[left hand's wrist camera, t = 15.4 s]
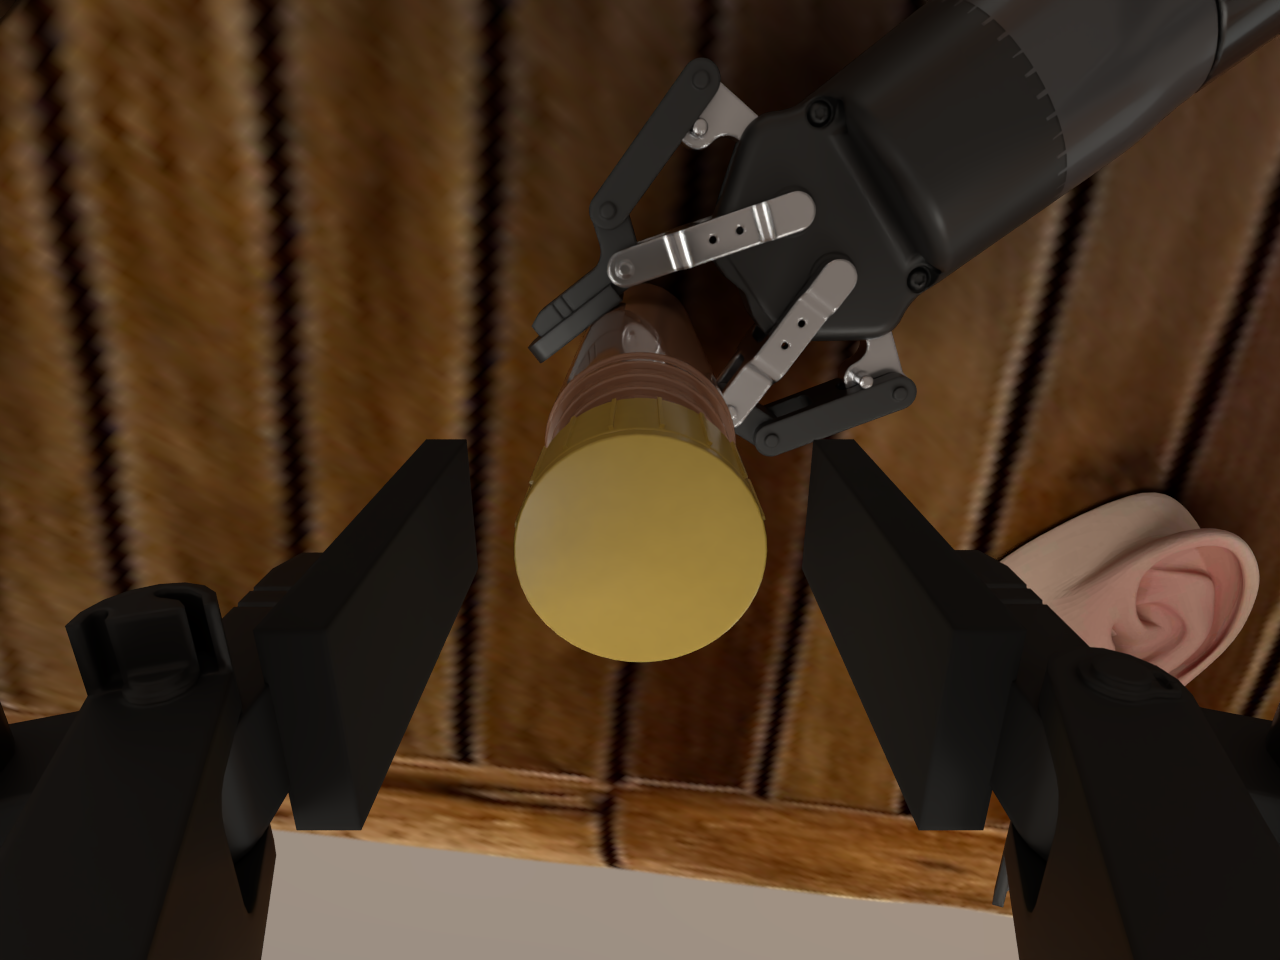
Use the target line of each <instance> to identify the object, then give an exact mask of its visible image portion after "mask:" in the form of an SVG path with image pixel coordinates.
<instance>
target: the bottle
mask: <svg viewBox="0 0 1280 960" xmlns="http://www.w3.org/2000/svg"><path fill="white" fill-rule="evenodd" d="M623 293H624V296H623V301H622V302H621V303H619V304H618V305H617V306H615V307H614V308H613V309H611V310H610V311H609V312H608V313H606V314H605V315H603V316H602V317H600V318H599V319H598V320H597V321H596V322H595V323H593V324H592V325H591V326H589V327H588V328H587V329H586V331H585V334H584V336H583V338H582V341H581V343H580V345H579V348H578V350H577V352H576V355H575V357H574V359H573V361H572V364H571V366H570V368H569V371H568V373H567V375H566V378H565V380H564V382H563V385H562V387H561V389H560V392H559V394H558V396H557V399H556V401H555V403H554V405H553V408H552V410H551V412H550V415H549V419H548V422H547V426H546V434H545V447H546V448H547V447H548V445H549V444H550V442H551V441H552V440H553V439H554V437H555V436H556V435H557V434H558V433H559V432H560V431H561V430H562V429H563V428H564V427H565V426H566V425H567V424H568V423H569V422H570V420H571V418H572V417H573V416H575V417H578V416H579V415H581V414H582V413H584V412H586V411H588V410H590V409H592V408H594V407H597V406H599V405H602V404H605V403H608V402H612V399H614V398H616V399H617V400H621V399H629V398H652V399H657V397H662V400H665V401H669V402H672V403H675V404H679V405H682V406H684V407H686V408H688V409H691V410H693V411H695V412H696V413H698V414H699V413H700V412H702V413H703V414H704V416H705V418H706V419H707V420H709V421H710V422H711V423H712V424H713V425H715V426H716V427H717V428H718V429H719V430H720V431H721V432H722V433H723V434H724V435H725V436H726V438H727V439H728V440H729V442H730V443H731V442H732V441H733V442H734V443H735V445H736V440H735V429H734V424H733V420H732V417H731V414H730V411H729V408H728V406H727V404H726V401H725V399H724V397H723V394H722V392H721V390H720V387H719V385H718V383H717V381H716V378H715V376H714V374H713V371H712V369H711V367H710V364H709V362H708V360H707V357H706V355H705V353H704V351H703V348H702V346H701V344H700V341H699V339H698V337H697V334H696V332H695V330H694V328H693V325H692V323H691V321H690V318H689V316H688V314H687V312H686V310H685V308H684V307H683V305H682V304H681V302H680V301H679V300H678V299H677V298H676V297H675V296H674V295H673V294H671V293H670V292H668V291H667V290H665V289H663V288H661V287H659V286H655V285H652V284H646V283H641V284H638V285H635V286H632V287H630V288H628V289H627V290H626V291H624V292H623Z"/></svg>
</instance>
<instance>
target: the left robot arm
mask: <svg viewBox="0 0 1280 960" xmlns="http://www.w3.org/2000/svg"><path fill="white" fill-rule="evenodd" d="M15 1H16V0H0V19H1V18H2V17H3V16H4V15H5V14H6V12H7V11H8V10H9V9H10V8H11V6H12V5H13V4H14V3H15ZM477 569H478V564H477V553H476V542H475V530H474V519H473V508H472V496H471V485H470V474H469V463H468V451H467V440H466V439H426V440H425V441H424V443H423V444H422V445H421V446H420V447H419V448H418V449H417V450H416V451H415V452H414V454H413V455H412V456H411V457H410V458H409V459H408V460H407V461H406V462H405V463H404V465H403V466H402V467H401V468H400V469H399V470H398V471H397V472H396V473H395V474H394V476H393V477H392V478H391V479H390V480H389V481H388V482H387V483H386V484H385V485H384V486H383V488H382V489H381V490H380V491H379V492H378V493H377V494H376V495H375V496H374V497H373V499H372V500H371V501H370V502H369V503H368V504H367V505H366V506H365V507H364V508H363V510H362V511H361V512H360V513H359V514H358V515H357V516H356V517H355V518H354V519H353V521H352V522H351V523H350V524H349V525H348V526H347V527H346V528H345V529H344V530H343V532H342V533H341V534H340V535H339V536H338V537H337V538H336V539H335V540H334V541H333V543H332V544H331V545H330V546H329V547H328V548H327V549H326V550H325V551H324V552H323V553H301V554H299V555H297V556H295V557H293V558H292V559H290V560H288V561H286V562H284V563H282V564H280V565H279V566H277V567H275V568H273V569H272V570H271V571H270V572H269V573H268V574H267V575H266V576H265V577H264V578H263V579H262V580H261V581H260V582H259V583H258V584H257V585H256V586H255V587H254V591H250V592H249V593H248V594H247V595H246V596H245V597H244V598H243V599H242V600H241V601H240V602H239V603H238V607H233V608H232V609H231V610H230V611H229V612H228V613H227V614H226V615H225V616H224V617H223V618H222V617H221V613H220V609H219V604H218V600H217V596H216V592H214V591H213V590H211V589H209V588H208V587H206V586H205V585H198V584H192V583H169V584H158V585H153V586H148V587H144V588H139V589H134V590H130V591H127V592H124V593H122V594H119V595H116V596H113V597H110V598H107V599H105V600H102V601H101V602H99V603H97V604H95V605H93V606H91V607H89V608H87V609H86V610H84V611H82V612H80V613H79V614H78V615H77V616H76V617H75V618H73V619H72V620H71V621H70V622H69V623H68V624H67V625H66V626H65V627H66V630H67V633H68V636H69V640H70V643H71V646H72V649H73V652H74V655H75V658H76V661H77V664H78V667H79V670H80V673H81V676H82V680H83V683H84V686H85V689H86V692H87V695H88V696H87V698H86V700H85V702H84V703H83V705H82V707H81V709H80V710H79V711H77V712H72V713H66V714H61V715H56V716H50V717H45V718H40V719H34V720H29V721H24V722H18V723H13V724H8V721H7V719H6V716H5V713H4V711H3V708H2V705H1V703H0V960H261V956H262V949H263V942H264V935H265V928H266V921H267V914H268V907H269V901H270V894H271V887H272V880H273V873H274V866H275V859H276V851H275V844H274V838H273V834H272V830H271V825H270V822H271V821H272V819H273V817H274V816H275V814H276V812H277V811H278V809H279V807H280V806H281V804H282V802H283V800H284V799H285V797H286V795H287V794H288V793H289V797H290V802H291V807H292V811H293V816H294V820H295V825H296V829H297V830H362V827H363V825H364V823H365V821H366V818H367V816H368V814H369V812H370V809H371V807H372V805H373V803H374V800H375V798H376V796H377V794H378V791H379V789H380V787H381V785H382V782H383V780H384V778H385V776H386V773H387V771H388V769H389V767H390V764H391V762H392V760H393V758H394V755H395V753H396V751H397V749H398V747H399V744H400V742H401V740H402V738H403V735H404V733H405V731H406V729H407V726H408V724H409V722H410V720H411V717H412V715H413V713H414V711H415V708H416V706H417V704H418V702H419V699H420V697H421V695H422V693H423V690H424V688H425V686H426V684H427V681H428V679H429V677H430V675H431V672H432V670H433V668H434V666H435V664H436V661H437V659H438V657H439V655H440V652H441V650H442V648H443V646H444V643H445V641H446V639H447V637H448V634H449V632H450V630H451V628H452V625H453V623H454V621H455V619H456V616H457V614H458V612H459V610H460V607H461V605H462V603H463V601H464V598H465V596H466V594H467V592H468V589H469V587H470V585H471V583H472V581H473V578H474V576H475V574H476V572H477ZM802 569H803V572H804V574H805V576H806V578H807V581H808V583H809V585H810V587H811V589H812V592H813V594H814V596H815V598H816V601H817V603H818V605H819V607H820V610H821V612H822V614H823V616H824V619H825V621H826V623H827V625H828V628H829V630H830V632H831V634H832V637H833V639H834V641H835V643H836V646H837V648H838V650H839V652H840V655H841V657H842V659H843V661H844V664H845V666H846V668H847V670H848V672H849V675H850V677H851V679H852V681H853V684H854V686H855V688H856V690H857V693H858V695H859V697H860V699H861V702H862V704H863V706H864V708H865V711H866V713H867V715H868V717H869V720H870V722H871V724H872V726H873V729H874V731H875V733H876V735H877V738H878V740H879V742H880V744H881V747H882V749H883V751H884V753H885V755H886V758H887V760H888V762H889V764H890V767H891V769H892V771H893V773H894V776H895V778H896V780H897V782H898V785H899V787H900V789H901V791H902V794H903V796H904V798H905V800H906V803H907V805H908V807H909V809H910V812H911V814H912V816H913V818H914V821H915V823H916V825H917V827H918V830H983V829H984V825H985V820H986V816H987V811H988V807H989V802H990V797H991V793H992V790H993V792H994V793H995V795H996V797H997V798H998V800H999V802H1000V803H1001V805H1002V807H1003V808H1004V810H1005V812H1006V813H1007V815H1008V817H1009V818H1010V820H1011V821H1010V825H1009V830H1008V834H1007V838H1006V842H1005V847H1004V851H1003V855H1002V859H1001V864H1000V868H999V872H998V876H997V881H996V885H995V889H994V896H993V903H992V905H996V906H1000V907H1003V905H1004V901H1005V897H1006V893H1007V891H1008V890H1009V892H1010V899H1011V906H1012V912H1013V919H1014V926H1015V933H1016V940H1017V947H1018V954H1019V960H1280V703H1279V705H1278V708H1277V711H1276V713H1275V716H1274V719H1273V721H1270V720H1265V719H1259V718H1254V717H1248V716H1243V715H1238V714H1232V713H1227V712H1222V711H1216V710H1211V709H1206V708H1201V707H1199V705H1198V704H1197V702H1196V700H1195V699H1194V697H1193V695H1192V694H1191V693H1190V692H1189V691H1188V690H1187V688H1186V687H1185V686H1184V685H1183V684H1182V683H1181V682H1180V681H1179V680H1178V679H1177V678H1175V677H1174V676H1172V675H1170V674H1169V673H1167V672H1166V671H1164V670H1163V669H1161V668H1160V667H1158V666H1156V665H1154V664H1151V663H1149V662H1147V661H1144V660H1142V659H1139V658H1137V657H1135V656H1132V655H1130V654H1126V653H1122V652H1118V651H1113V650H1109V649H1105V648H1097V647H1090V646H1089V645H1088V644H1087V643H1086V642H1085V641H1084V640H1083V639H1081V638H1080V637H1079V636H1078V635H1077V634H1076V633H1075V632H1074V631H1073V630H1072V629H1071V628H1070V627H1069V626H1068V625H1067V624H1066V623H1065V622H1064V621H1063V620H1062V619H1061V618H1060V617H1059V616H1058V615H1057V614H1056V613H1055V612H1054V611H1053V610H1052V609H1051V608H1050V607H1049V606H1048V605H1047V604H1043V602H1042V601H1043V600H1042V599H1041V598H1040V597H1039V596H1038V595H1037V594H1036V593H1035V592H1034V591H1033V590H1032V589H1031V588H1027V584H1026V583H1024V582H1023V581H1022V580H1021V579H1020V578H1019V577H1018V576H1017V575H1016V574H1015V573H1014V572H1013V571H1012V570H1011V569H1010V568H1009V567H1008V566H1007V565H1005V564H1003V563H1001V562H999V561H997V560H995V559H994V558H992V557H990V556H988V555H986V554H984V553H982V552H980V551H979V550H954V549H953V548H952V547H951V546H950V545H949V544H948V543H947V541H946V540H945V539H944V538H943V537H942V536H941V535H940V534H939V533H938V532H937V530H936V529H935V528H934V527H933V526H932V525H931V524H930V523H929V522H928V521H927V519H926V518H925V517H924V516H923V515H922V514H921V513H920V512H919V511H918V510H917V508H916V507H915V506H914V505H913V504H912V503H911V502H910V501H909V500H908V499H907V497H906V496H905V495H904V494H903V493H902V492H901V491H900V490H899V489H898V488H897V486H896V485H895V484H894V483H893V482H892V481H891V480H890V479H889V478H888V477H887V476H886V474H885V473H884V472H883V471H882V470H881V469H880V468H879V467H878V466H877V465H876V463H875V462H874V461H873V460H872V459H871V458H870V457H869V456H868V455H867V454H866V452H865V451H864V450H863V449H862V448H861V447H860V446H859V445H858V444H857V443H856V441H855V440H854V439H814V440H813V451H812V463H811V474H810V485H809V496H808V508H807V519H806V530H805V542H804V553H803V564H802Z"/></svg>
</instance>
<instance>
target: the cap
mask: <svg viewBox="0 0 1280 960" xmlns="http://www.w3.org/2000/svg"><path fill="white" fill-rule="evenodd" d="M747 477H748V476H747V473H746V471H745V468H744V465H743V463H742V460H741V458H740V455H739V453H738V450H737V448H736V445H735V443H734V442H733V441H732V442H731V443H730V442H729V440H728V439H727V438H726V436H725V435H724V434H723V433H722V432H721V431H720V430H719V429H718V428H717V427H716V426H715V425H713V424H712V423H711V422H710V421H709V420H707V419H706V418H705V416H704V414H703V413H702V412H700V413H699V414H698V413H696V412H695V411H693V410H691V409H688V408H686V407H684V406H682V405H679V404H675V403H672V402H669V401H665V400H662V397H657V399H652V398H629V399H621V400H617V399H616V398H614V399H612V402H608V403H605V404H602V405H599V406H597V407H594V408H592V409H590V410H588V411H586V412H584V413H582V414H581V415H579V416H578V417H575V416H573V417H572V418H571V420H570V422H569V423H568V424H567V425H566V426H565V427H564V428H563V429H562V430H561V431H560V432H559V433H558V434H557V435H556V436H555V437H554V439H553V440H552V441H551V442H550V444H549V445H548V447H547V448H546V447H543V449H542V451H541V454H540V456H539V459H538V461H537V464H536V466H535V469H534V471H533V474H532V476H531V479H530V481H529V483H530V484H531V485H530V486H529V488H528V491H527V493H526V496H525V499H524V501H523V504H522V506H521V509H520V511H519V514H518V516H517V519H516V521H515V527H516V528H515V536H514V560H515V566H516V572H517V575H518V578H519V581H520V584H521V587H522V589H523V591H524V593H525V595H526V598H527V600H528V601H529V603H530V604H531V606H532V607H533V609H534V610H535V612H536V613H537V614H538V615H539V617H540V618H541V619H542V620H543V621H544V622H545V623H546V625H548V626H549V627H550V628H551V629H552V630H553V631H554V632H556V633H557V634H558V635H559V636H561V637H562V638H564V639H565V640H567V641H568V642H569V643H571V644H573V645H575V646H577V647H579V648H581V649H583V650H585V651H588V652H590V653H593V654H595V655H598V656H602V657H606V658H609V659H614V660H621V661H628V662H651V661H661V660H666V659H671V658H676V657H679V656H682V655H685V654H688V653H691V652H693V651H695V650H698V649H700V648H702V647H704V646H706V645H707V644H709V643H711V642H713V641H714V640H716V639H717V638H719V637H720V636H721V635H723V634H724V633H725V632H726V631H728V630H729V629H730V628H731V627H732V626H733V625H734V624H735V623H736V622H737V621H738V620H739V619H740V618H741V616H742V615H743V614H744V612H745V611H746V610H747V609H748V607H749V605H750V604H751V602H752V600H753V599H754V597H755V595H756V593H757V591H758V588H759V586H760V584H761V581H762V578H763V574H764V570H765V566H766V557H767V536H766V531H765V525H764V521H763V520H765V516H764V513H763V511H762V508H761V506H760V503H759V501H758V498H757V496H756V493H755V491H754V488H753V486H752V483H751V481H750V479H748V478H747Z"/></svg>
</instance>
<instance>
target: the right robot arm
mask: <svg viewBox="0 0 1280 960" xmlns="http://www.w3.org/2000/svg"><path fill="white" fill-rule="evenodd" d="M1279 34H1280V0H929V1H928V2H927V3H925V4H924V5H923V6H922V7H920V8H919V9H918V10H917V11H915V12H914V13H913V14H911V15H910V16H909V17H908V18H906V19H905V20H904V21H903V22H901V23H900V24H899V25H898V26H896V27H895V28H894V29H893V30H891V31H890V32H889V33H887V34H886V35H885V36H884V37H882V38H881V39H880V40H879V41H877V42H876V43H875V44H874V45H872V46H871V47H870V48H869V49H867V50H866V51H865V52H864V53H862V54H861V55H860V56H858V57H857V58H856V59H855V60H853V61H852V62H851V63H850V64H848V65H847V66H846V67H845V68H843V69H842V70H841V71H840V72H838V73H837V74H836V75H835V76H833V77H832V78H831V79H829V80H828V81H827V82H826V83H824V84H823V85H822V86H821V87H819V88H818V89H817V90H816V91H814V92H813V93H812V94H811V95H809V96H808V97H807V98H805V99H804V100H803V101H802V102H800V103H799V104H798V105H796V106H794V107H791V108H788V109H785V110H780V111H772V112H767V113H764V114H762V115H760V116H757V115H756V114H755V113H754V112H753V111H752V110H751V109H750V108H748V107H747V106H746V105H745V104H744V103H743V102H742V101H741V100H740V99H739V98H737V97H736V96H735V95H734V94H733V93H732V92H731V91H730V90H729V89H727V88H726V87H725V86H724V85H723V84H722V83H721V82H720V81H721V77H720V72H719V69H718V67H717V66H716V65H715V63H714V62H712V61H711V60H709V59H707V58H696V59H694V60H692V61H691V62H689V63H688V64H687V66H686V67H685V68H684V70H683V71H682V73H681V74H680V75H679V77H678V78H677V80H676V81H675V82H674V84H673V85H672V87H671V88H670V90H669V91H668V92H667V94H666V95H665V97H664V98H663V100H662V101H661V102H660V104H659V105H658V107H657V108H656V110H655V111H654V112H653V114H652V115H651V117H650V118H649V120H648V121H647V122H646V124H645V125H644V127H643V128H642V129H641V131H640V132H639V134H638V135H637V137H636V138H635V139H634V141H633V142H632V144H631V145H630V147H629V148H628V149H627V151H626V152H625V154H624V155H623V157H622V158H621V159H620V161H619V162H618V164H617V165H616V167H615V168H614V169H613V171H612V172H611V174H610V175H609V176H608V178H607V179H606V181H605V182H604V184H603V185H602V186H601V188H600V189H599V191H598V192H597V194H596V195H595V196H594V198H593V199H592V201H591V203H590V207H589V214H590V218H591V220H592V222H593V224H594V227H595V231H596V234H597V237H598V240H599V244H600V248H601V256H600V260H599V263H598V264H597V266H596V267H595V268H593V269H592V270H591V271H590V272H588V273H587V274H586V275H585V276H583V277H582V278H581V279H580V280H578V281H577V282H576V283H574V284H573V285H572V286H571V287H569V288H568V289H567V290H566V291H564V292H563V293H562V294H561V295H559V296H558V297H557V298H555V299H554V300H553V301H552V302H550V303H549V304H548V305H547V306H545V307H544V308H543V309H542V310H541V311H540V312H539V314H538V316H537V318H536V319H535V321H534V323H533V325H532V327H533V328H534V330H535V331H536V332H537V333H538V335H539V336H538V337H537V338H536V339H535V340H534V341H533V342H532V343H531V344H530V346H529V347H528V348H529V350H530V351H531V352H532V353H533V355H534V356H535V357H536V358H537V360H538V361H539V362H540V363H542V362H544V361H545V360H546V359H548V358H549V357H550V356H552V355H553V354H554V353H556V352H557V351H558V350H559V349H561V348H562V347H563V346H565V345H566V344H567V343H569V342H570V341H571V340H572V339H574V338H575V337H576V336H578V335H579V334H580V333H582V332H583V331H584V330H585V329H587V328H588V327H589V326H591V325H592V324H593V323H595V322H596V321H597V320H598V319H599V318H600V317H602V316H603V315H605V314H606V313H608V312H609V311H610V310H611V309H613V308H614V307H615V306H617V305H618V304H619V303H621V302H622V301H623V296H624V293H623V292H624V291H626V290H627V289H628V288H630V287H632V286H635V285H638V284H641V283H643V282H646V281H649V280H652V279H655V278H658V277H661V276H664V275H667V274H670V273H673V272H676V271H679V270H684V269H688V268H692V267H695V266H698V265H700V264H703V263H706V262H709V261H713V262H714V264H715V265H716V266H717V268H718V269H719V271H720V272H721V273H722V274H723V275H724V276H725V277H726V278H728V279H729V280H730V281H731V282H732V283H734V284H735V285H736V286H737V287H738V289H739V292H740V295H741V298H742V301H743V304H744V307H745V309H746V310H747V312H748V313H749V315H750V316H751V318H752V319H753V320H754V322H755V323H754V324H753V325H752V327H751V328H750V329H749V331H748V332H747V333H746V335H745V336H744V337H743V339H742V340H741V342H740V344H739V346H738V348H737V351H736V353H735V354H734V356H733V357H732V358H731V360H730V361H729V362H728V364H727V365H726V366H725V368H724V369H723V370H722V372H721V373H720V375H719V376H718V377H717V379H716V381H717V383H718V385H719V387H720V390H721V392H722V394H723V397H724V399H725V401H726V404H727V406H728V408H729V411H730V414H731V417H732V420H733V424H734V429H735V433H736V434H738V435H739V436H741V437H742V438H744V439H746V440H747V441H749V442H750V443H752V444H753V445H755V446H756V448H757V450H758V451H759V452H760V453H761V454H763V455H765V456H775V455H778V454H781V453H784V452H786V451H789V450H792V449H795V448H797V447H800V446H803V445H806V444H808V443H811V442H813V440H814V439H822V438H825V437H828V436H830V435H833V434H836V433H839V432H841V431H844V430H847V429H850V428H852V427H855V426H858V425H861V424H863V423H866V422H869V421H872V420H874V419H877V418H880V417H883V416H885V415H888V414H891V413H894V412H896V411H899V410H902V409H904V408H907V407H908V406H909V405H911V404H912V402H913V401H914V399H915V397H916V393H917V390H916V386H915V384H914V382H913V381H912V380H911V379H909V378H907V376H905V375H904V374H903V372H902V368H901V365H900V361H899V357H898V354H897V350H896V346H895V342H894V339H893V335H892V330H893V329H894V328H895V327H896V326H897V325H898V323H899V322H900V320H901V318H902V316H903V315H904V313H905V311H906V310H907V308H908V307H909V305H910V304H911V303H912V302H913V301H914V299H915V298H916V297H917V296H919V295H920V294H921V293H922V292H924V291H925V290H927V289H929V288H930V287H932V286H933V285H935V284H936V283H938V282H939V281H941V280H942V279H944V278H945V277H947V276H948V275H949V274H951V273H952V272H954V271H955V270H957V269H958V268H959V267H961V266H962V265H964V264H965V263H967V262H968V261H969V260H971V259H972V258H974V257H975V256H977V255H978V254H979V253H981V252H982V251H984V250H985V249H987V248H988V247H989V246H991V245H992V244H994V243H995V242H997V241H998V240H999V239H1001V238H1002V237H1004V236H1005V235H1007V234H1008V233H1009V232H1011V231H1012V230H1014V229H1015V228H1017V227H1018V226H1019V225H1021V224H1023V223H1024V222H1026V221H1027V220H1028V219H1030V218H1031V217H1033V216H1034V215H1036V214H1037V213H1038V212H1040V211H1041V210H1043V209H1044V208H1046V207H1047V206H1048V205H1050V204H1051V203H1053V202H1054V201H1056V200H1057V199H1058V198H1060V197H1061V196H1063V195H1064V194H1066V193H1067V192H1069V191H1070V190H1071V189H1073V188H1074V187H1076V186H1077V185H1079V184H1080V183H1081V182H1083V181H1084V180H1086V179H1087V178H1089V177H1090V176H1091V175H1093V174H1094V173H1096V172H1097V171H1099V170H1100V169H1101V168H1103V167H1104V166H1106V165H1107V164H1109V163H1110V162H1111V161H1113V160H1114V159H1116V158H1117V157H1118V156H1120V155H1121V154H1122V153H1124V152H1125V151H1126V150H1128V149H1129V148H1130V147H1132V146H1133V145H1134V144H1135V143H1137V142H1138V141H1139V140H1140V139H1141V138H1142V137H1144V136H1145V135H1146V134H1147V133H1148V132H1149V131H1150V130H1151V129H1153V128H1154V127H1155V126H1156V125H1157V124H1158V123H1159V122H1160V121H1161V120H1162V119H1164V118H1165V117H1166V116H1167V115H1168V114H1169V113H1170V112H1172V111H1173V110H1174V109H1175V108H1176V107H1178V106H1179V105H1180V104H1181V103H1183V102H1184V101H1185V100H1187V99H1188V98H1189V97H1191V96H1192V95H1193V94H1194V93H1196V92H1198V91H1199V90H1201V89H1202V88H1204V87H1205V86H1206V85H1208V84H1209V83H1211V82H1212V81H1214V80H1215V79H1216V78H1218V77H1219V76H1221V75H1222V74H1224V73H1225V72H1226V71H1228V70H1229V69H1231V68H1232V67H1234V66H1235V65H1236V64H1238V63H1239V62H1241V61H1242V60H1244V59H1245V58H1246V57H1248V56H1249V55H1251V54H1252V53H1254V52H1255V51H1256V50H1258V49H1259V48H1261V47H1262V46H1263V45H1265V44H1266V43H1268V42H1269V41H1271V40H1272V39H1273V38H1275V37H1276V36H1277V35H1279ZM719 138H729V139H732V140H733V141H735V142H736V144H735V147H734V150H733V154H732V157H731V160H730V163H729V166H728V169H727V172H726V175H725V178H724V181H723V184H722V187H721V191H720V194H719V197H718V200H717V203H716V206H715V209H714V212H713V215H710V216H707V217H705V218H702V219H699V220H696V221H693V222H690V223H687V224H684V225H682V226H679V227H676V228H673V229H671V230H668V231H666V232H663V233H661V234H658V235H655V236H652V237H649V238H646V239H643V240H641V241H638V242H637V240H636V237H635V233H634V230H633V226H632V223H631V219H630V216H629V214H630V212H631V211H632V210H633V208H634V207H635V205H636V204H637V203H638V201H639V200H640V199H641V197H642V196H643V194H644V193H645V192H646V190H647V189H648V188H649V186H650V185H651V183H652V182H653V181H654V179H655V178H656V176H657V175H658V174H659V172H660V171H661V170H662V168H663V167H664V165H665V164H666V163H667V161H668V160H669V158H670V157H671V156H672V154H673V153H674V152H675V150H676V149H677V147H678V146H679V145H680V143H681V144H682V145H683V146H685V147H686V148H687V149H689V150H692V151H700V150H703V149H705V148H706V147H708V146H709V145H710V144H711V143H712V142H713V141H714V140H716V139H719ZM841 340H860V345H859V348H858V350H857V352H856V353H855V354H854V355H853V356H852V357H850V358H848V359H846V360H845V361H844V362H843V363H842V364H841V365H840V367H839V370H838V378H836V379H833V380H830V381H828V382H825V383H822V384H820V385H817V386H814V387H812V388H809V389H806V390H804V391H801V392H798V393H796V394H793V395H790V396H788V397H785V398H782V399H780V400H777V401H774V402H772V403H769V404H766V405H764V406H762V405H761V404H759V403H758V401H759V400H760V399H761V398H762V396H763V395H764V394H765V392H766V391H767V390H768V388H769V387H770V386H771V385H772V384H774V383H776V382H777V381H779V380H780V379H781V378H782V377H783V376H784V374H785V373H786V372H787V370H788V369H789V368H790V367H791V365H792V364H793V363H794V361H795V360H796V359H797V357H798V356H799V355H800V354H801V352H802V351H803V350H804V348H805V347H806V346H807V344H808V343H809V342H810V341H841ZM784 342H786V344H785V346H783V347H781V345H782V343H784Z"/></svg>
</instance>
